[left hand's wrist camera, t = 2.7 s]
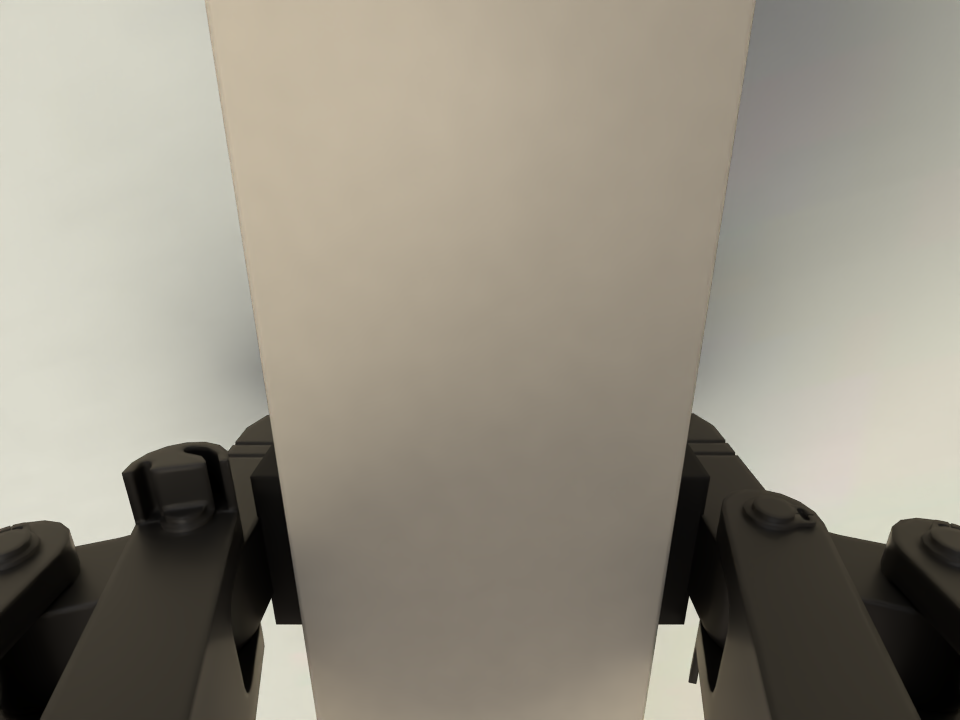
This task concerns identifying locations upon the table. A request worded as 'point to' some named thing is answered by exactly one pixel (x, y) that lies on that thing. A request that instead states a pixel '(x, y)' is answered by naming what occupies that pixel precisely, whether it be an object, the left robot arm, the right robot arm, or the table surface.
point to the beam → (480, 329)
